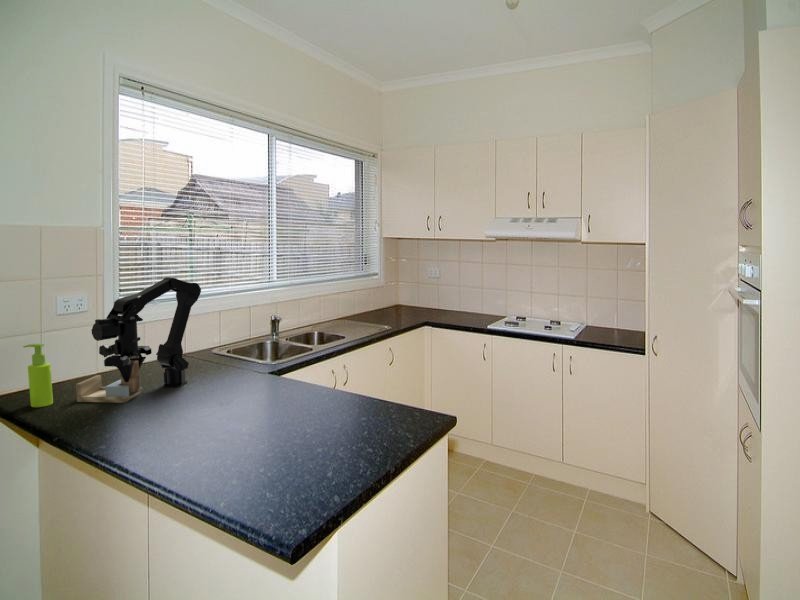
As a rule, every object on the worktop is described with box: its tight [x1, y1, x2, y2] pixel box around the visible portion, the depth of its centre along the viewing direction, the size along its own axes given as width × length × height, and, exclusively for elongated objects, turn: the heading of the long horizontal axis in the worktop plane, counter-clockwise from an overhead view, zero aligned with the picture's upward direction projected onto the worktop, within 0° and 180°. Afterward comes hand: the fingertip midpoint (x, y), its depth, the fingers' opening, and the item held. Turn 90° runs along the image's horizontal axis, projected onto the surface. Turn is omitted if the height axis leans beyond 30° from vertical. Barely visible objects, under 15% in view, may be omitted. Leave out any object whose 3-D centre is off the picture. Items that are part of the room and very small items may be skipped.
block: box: [104, 378, 142, 398], centre depth 165 cm, size 7×9×4 cm
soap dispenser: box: [22, 343, 54, 408], centre depth 156 cm, size 6×7×20 cm
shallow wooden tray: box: [75, 374, 144, 404], centre depth 165 cm, size 16×11×6 cm
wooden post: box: [120, 360, 141, 392], centre depth 165 cm, size 4×4×10 cm
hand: (130, 380), depth 165 cm, fingers closed on wooden post, 4 cm apart
